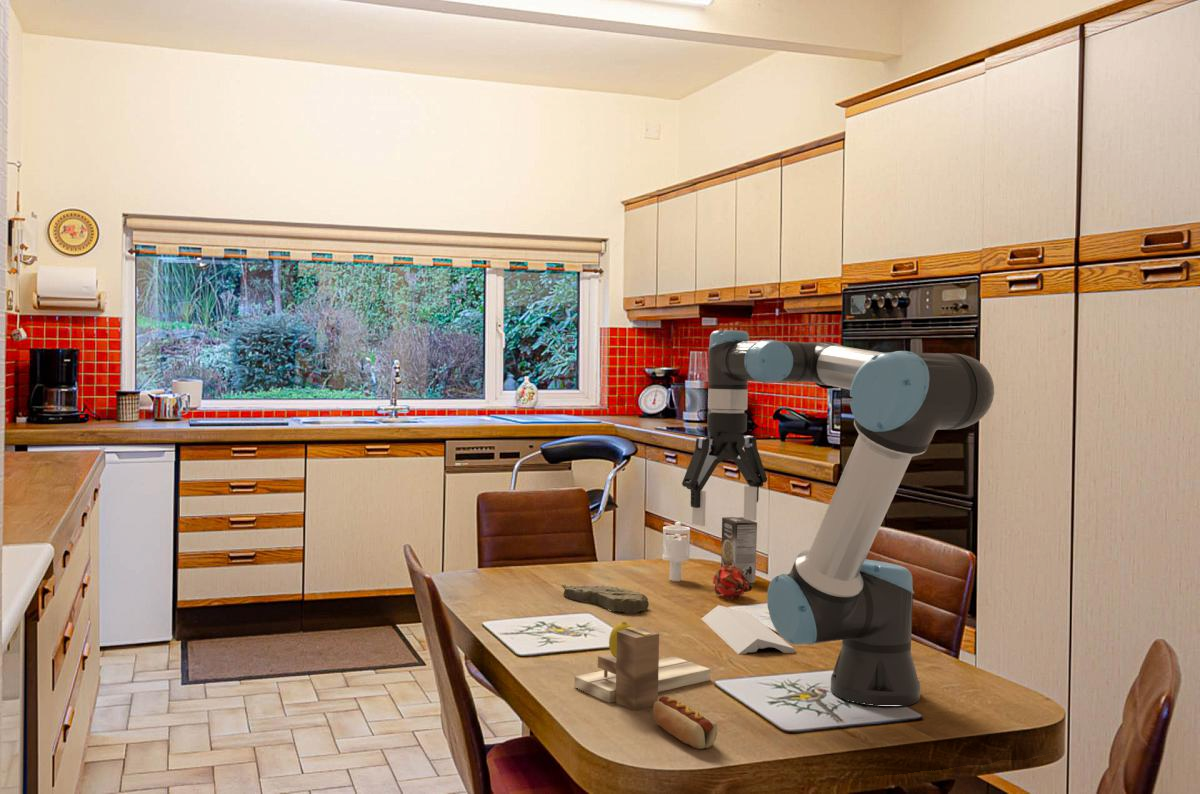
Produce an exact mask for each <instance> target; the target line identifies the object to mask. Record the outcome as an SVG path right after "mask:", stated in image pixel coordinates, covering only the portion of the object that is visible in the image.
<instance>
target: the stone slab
mask: <svg viewBox="0 0 1200 794" xmlns="http://www.w3.org/2000/svg"><path fill="white" fill-rule="evenodd" d="M561 587H562V588H563V590H564V591H563V596H564V597H567V598H568V597H569V599H570V598H571V599H570V600H572V599H573V601H577V602H578V601H579V602H580V603H592V604H594V605H595V604H598V605H597V606H600V607H603V608H604V609H606V610H608V609H609V610H611V611H610V612H623V613H625V614H629V613H633V614H634V615H635V614H637V613H639V612H646V611H647V610H648V608H649V598H648V597H647V596H646V595H645V594H644V593H641V592H640V591H633V590H630V589H626V588H621V587H617V586H610V585H582V586H581V585H576V586H575V585H574V586H573V585H570V586H568V585H566V584H561ZM609 610H608V611H609Z"/></svg>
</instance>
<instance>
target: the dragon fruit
mask: <svg viewBox="0 0 1200 794" xmlns="http://www.w3.org/2000/svg"><path fill="white" fill-rule="evenodd" d="M743 573H744V572H743V570H741V569H738V568H737V567H735V566H733V565H730V566H729V565H724V566H723V567H720V568H719V569H718V570H717V571H716V573H715V574H714V576H713V581H712V584H714V591H715V594H716V595H717V596H718V595H722V597H724V598H725V599H726V600H729V601H732V600H733V601H734V600H735V598H740V597H742V598H743V595H745V593H748V592H751V591H752V589H753V585H752V584H750V583H749V581H747V578H746V576H745V575H744V574H743ZM746 581H747V582H748V583H746Z"/></svg>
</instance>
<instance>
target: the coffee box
mask: <svg viewBox="0 0 1200 794" xmlns="http://www.w3.org/2000/svg"><path fill="white" fill-rule="evenodd" d="M757 535H758V521H757V522H756V521H755V520H754V521H753V520H748V519H744V516H743V517H737V516H736V517H734V516H733V517H732V516H731V517H729V516H728V517H727V516H726V517H722V518H721V556H720V559H721V560H720V566H721V567H723V566H724V565H729V566H730V565H733V566H735V567H737V568H738V569H741V570H743V572H744V573H743V574H744V575H745V576H746V578H747V581H749V583H748V582H747V581H746V583H747V584H753V583H756V568H757V567H756V566H757V565H756V564H757V544H758V543H757V539H758V537H757ZM721 567H720V568H721Z"/></svg>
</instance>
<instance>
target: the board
mask: <svg viewBox="0 0 1200 794" xmlns="http://www.w3.org/2000/svg"><path fill="white" fill-rule="evenodd" d="M711 672H712V671H711V668H708V667H706V666H702V665H699V664H697V663H694V662H692V661H689V660H685V659H683V658H680V657H677V656H669V657H663V658H659V668H658V693H660V692H665V691H669V690H673V689H678V688H681V687H687V686H690V685H694V684H699V683H703V682H709V681H711V674H712V673H711ZM576 688H578V689H577V690H579V689H580V690H579V691H581V690H582V692H583V691H584V693H586V694H589V695H590V696H593V697H595V698H597V699H600V700H602V701H604V702H606V703H609V704H610V703H616V674H613V673H611V672H608V675H607V678H605V677H604V670H603V669H602V670H599V671H595V672H589V673H584V674H579V675H574V689H576Z"/></svg>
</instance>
